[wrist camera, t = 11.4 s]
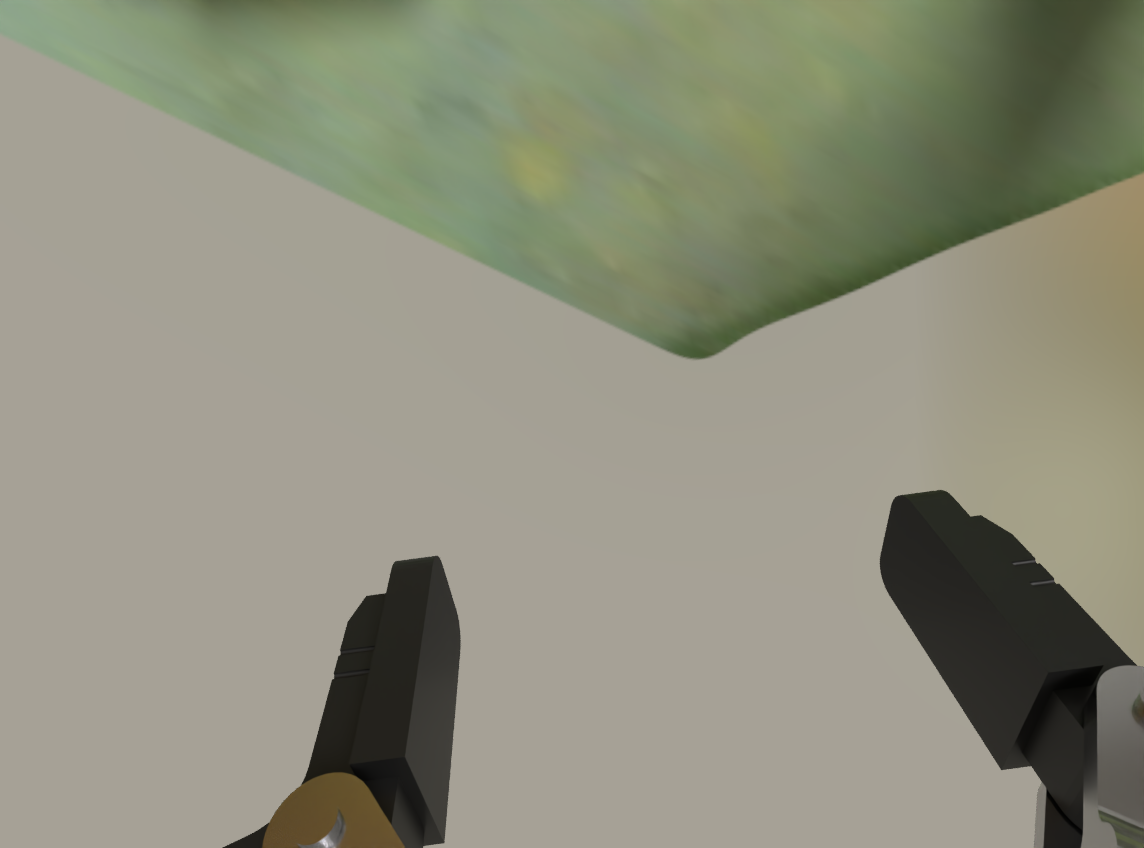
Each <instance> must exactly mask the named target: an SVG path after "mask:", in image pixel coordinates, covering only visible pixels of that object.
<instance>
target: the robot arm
mask: <svg viewBox="0 0 1144 848" xmlns="http://www.w3.org/2000/svg"><path fill="white" fill-rule="evenodd" d="M880 570H881V575H882V579H883V582H884V585H885V588H886V589H887V592H888V593H889V595H890V596H891V598H892V600H893V601H894V603H895V604H896V606H897V608H898V609H899V611H900V612H901V614H902V615H903V617H904V619H905V620H906V622H907V623H908V625H909V626H910V628H911V629H912V631H913V632H914V634H915V636H916V637H917V639H918V640H919V642H920V644H921V645H922V647H923V648H924V650H925V651H926V653H927V654H928V656H929V658H930V659H931V661H932V662H933V664H934V665H935V667H936V669H937V670H938V671H939V673H940V675H941V676H942V678H943V679H944V681H945V682H946V684H947V686H948V687H949V689H950V690H951V692H952V694H953V695H954V697H955V698H956V700H957V701H958V703H959V704H960V706H961V707H962V709H963V711H964V712H965V714H966V715H967V717H968V719H969V720H970V722H971V723H972V725H973V726H974V728H975V729H976V731H977V733H978V734H979V736H980V737H981V738H982V740H983V742H984V744H985V745H986V747H987V748H988V750H989V751H990V753H991V754H992V756H993V758H994V759H995V761H996V762H997V764H998V765H999V767H1000V768H1001V770H1005V769H1013V768H1020V767H1027V766H1032V768H1033V769H1034V771H1035V772H1036V774H1037V775H1038V777H1039V778H1040V780H1041V781H1042V783H1041V785H1040V787H1039V789H1038V794H1037V806H1036V823H1035V839H1034V848H1144V667H1142V666H1137V665H1136V664H1135V663H1134V662H1133V661H1132V660H1131V659H1130V658H1129V657H1128V656H1127V655H1126V654H1125V653H1124V652H1123V651H1122V650H1121V648H1120V647H1119V646H1118V645H1117V644H1116V643H1115V642H1114V641H1113V640H1112V639H1111V638H1110V637H1109V636H1108V635H1107V634H1106V633H1105V632H1104V631H1103V630H1102V629H1101V627H1100V626H1099V625H1098V624H1097V623H1096V622H1095V621H1094V620H1093V619H1092V618H1091V617H1090V616H1089V615H1088V614H1087V613H1086V612H1085V611H1084V609H1083V608H1081V606H1080V605H1079V604H1078V603H1077V602H1076V601H1075V600H1074V599H1073V598H1072V597H1071V596H1070V595H1069V594H1068V593H1067V591H1066V590H1064V588H1063V587H1062V586H1061V585H1060V584H1056V583H1055V582H1054V578H1053V577H1052V576H1051V575H1050V574H1049V572H1047V570H1046V569H1045V568H1044V567H1043V566H1042V565H1041V564H1040V563H1039V564H1037V563H1036V561H1035V558H1034V557H1033V556H1032V555H1031V553H1030V552H1029V551H1028V550H1026V548H1025V547H1024V546H1023V545H1022V544H1021V543H1020V542H1019V541H1018V540H1017V539H1016V538H1015V537H1014V536H1013V535H1012V534H1011V533H1009V532H1008V531H1006V530H1004V529H1003V528H1001V527H999V526H998V525H996V524H994V523H993V522H991V521H989V520H988V519H986V518H984V517H983V516H981V515H980V516H973V517H970V516H969V514H967V512H966V511H965V510H964V509H963V508H962V507H961V506H960V504H959V503H958V502H957V501H956V500H955V499H954V498H953V497H952V496H951V495H950V494H949V493H948V492H946V491H943V490H937V491H929V492H922V493H915V494H908V495H900V496H897V497H895V499H894V500H893V502H892V505H891V510H890V514H889V519H888V523H887V528H886V533H885V537H884V542H883V546H882V551H881V557H880ZM340 651H341V655H340V656H338V660H337V664H336V668H335V671H334V679H333V680H332V682H331V686H330V690H329V694H328V697H327V701H326V705H325V709H324V712H323V716H322V720H321V723H320V727H319V731H318V735H317V738H316V742H315V745H314V749H313V753H312V757H311V760H310V764H309V768H308V771H307V773H306V777H305V779H304V781H303V783H302V785H301V786H300V787H298V788H297V789H296V790H295V791H294V792H292V793H291V794H290V795H289V796H288V797H287V798H286V799H285V800H284V801H283V802H282V804H281V805H280V806H279V808H278V809H277V810H276V812H275V813H274V815H273V817H272V819H271V820H270V822H269V823H268V824H266V825H265V826H264V827H262V828H261V829H259V830H258V831H256V832H254V833H252V834H250V835H248V836H246V837H244V838H242V839H240V840H238V841H236V842H234V843H231V844H229V845H227V846H225V847H223V848H423V846H426V845H433V844H441V843H444V839H445V827H446V816H447V804H448V803H447V802H448V792H449V780H450V768H451V756H452V743H453V730H454V718H455V706H456V694H457V683H458V670H459V659H460V628H459V620H458V615H457V611H456V608H455V604H454V601H453V598H452V595H451V591H450V588H449V585H448V582H447V578H446V575H445V572H444V568H443V565H442V562H441V560H440V558H439V557H438V556H432V557H425V558H418V559H409V560H402V561H396V562H394V564H393V566H392V570H391V574H390V578H389V583H388V587H387V592H386V593H385V594H378V595H371V596H366V597H365V599H364V600H363V601H362V603H361V605H360V606H359V607H358V608H357V610H356V611H355V613H354V614H353V616H352V617H351V618H350V620H349V621H348V623H347V627H346V630H345V634H344V638H343V642H342V645H341V649H340Z"/></svg>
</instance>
